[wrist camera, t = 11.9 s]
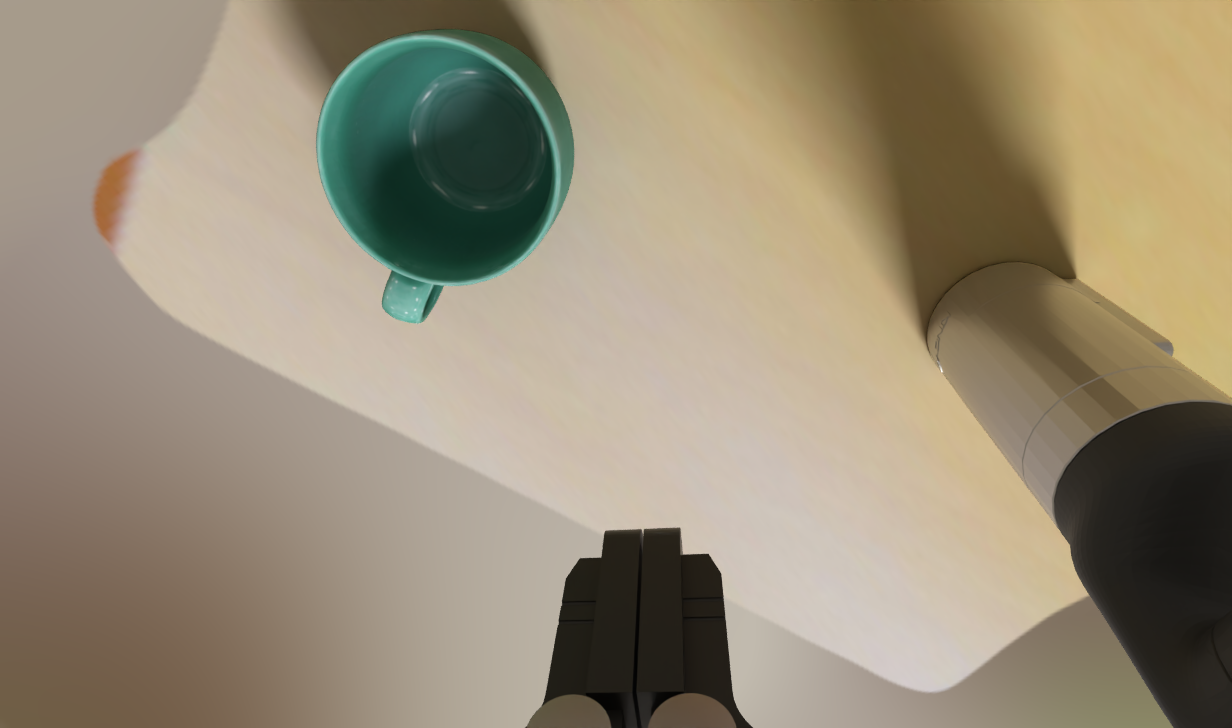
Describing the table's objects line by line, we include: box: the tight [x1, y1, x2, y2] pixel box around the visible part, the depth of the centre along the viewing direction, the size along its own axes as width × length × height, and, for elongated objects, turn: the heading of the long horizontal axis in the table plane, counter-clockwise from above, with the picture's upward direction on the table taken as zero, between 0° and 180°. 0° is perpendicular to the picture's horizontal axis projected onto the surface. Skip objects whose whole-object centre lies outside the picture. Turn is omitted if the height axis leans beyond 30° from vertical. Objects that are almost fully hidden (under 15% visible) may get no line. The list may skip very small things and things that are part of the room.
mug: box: [316, 29, 574, 323], centre depth 39 cm, size 17×13×10 cm
